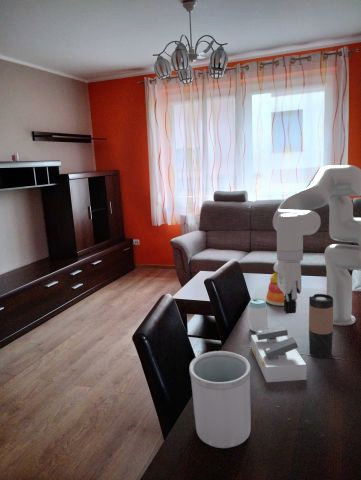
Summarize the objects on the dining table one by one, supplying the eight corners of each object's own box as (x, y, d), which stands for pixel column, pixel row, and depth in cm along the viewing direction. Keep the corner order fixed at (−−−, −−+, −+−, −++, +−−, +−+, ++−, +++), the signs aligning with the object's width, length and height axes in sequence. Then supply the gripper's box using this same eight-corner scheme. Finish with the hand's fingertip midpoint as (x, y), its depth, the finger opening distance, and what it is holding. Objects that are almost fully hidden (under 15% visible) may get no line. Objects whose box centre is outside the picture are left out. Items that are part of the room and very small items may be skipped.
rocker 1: (256, 335, 130) (255, 329, 130) (284, 330, 130) (284, 325, 129) (258, 340, 126) (257, 334, 126) (287, 335, 126) (287, 329, 126)
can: (247, 332, 148) (247, 303, 145) (251, 324, 154) (250, 297, 152) (265, 334, 145) (265, 304, 143) (268, 326, 151) (268, 298, 149)
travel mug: (334, 359, 124) (335, 301, 120) (310, 358, 126) (310, 301, 122) (330, 348, 131) (331, 293, 128) (307, 347, 133) (307, 293, 129)
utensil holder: (213, 460, 85) (210, 390, 81) (182, 422, 98) (178, 361, 94) (264, 435, 91) (263, 370, 88) (229, 403, 104) (227, 345, 101)
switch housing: (250, 348, 135) (250, 331, 134) (284, 345, 135) (284, 329, 134) (265, 382, 113) (265, 363, 112) (306, 379, 113) (306, 360, 112)
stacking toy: (299, 299, 179) (299, 259, 176) (291, 309, 168) (291, 267, 164) (270, 295, 187) (270, 257, 183) (260, 305, 175) (260, 264, 172)
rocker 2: (264, 353, 119) (262, 348, 119) (294, 342, 119) (292, 336, 118) (267, 359, 116) (265, 353, 115) (298, 347, 115) (295, 341, 115)
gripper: (271, 250, 120) (272, 304, 123) (284, 261, 105) (284, 322, 109) (294, 248, 120) (294, 303, 123) (310, 259, 105) (310, 321, 109)
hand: (290, 312), depth 116 cm, fingers closed
